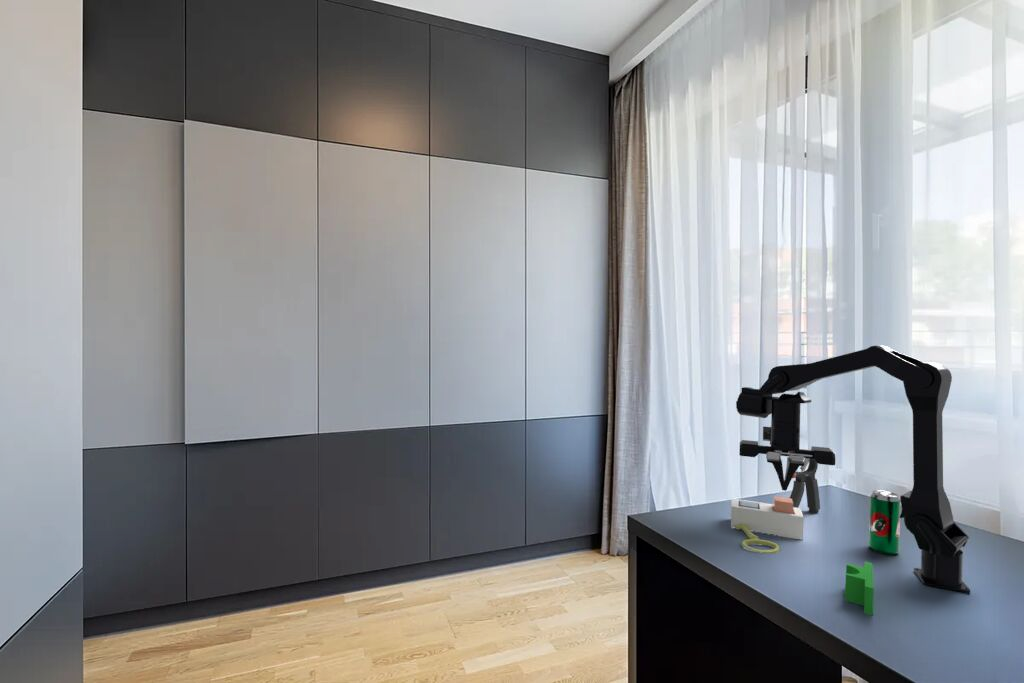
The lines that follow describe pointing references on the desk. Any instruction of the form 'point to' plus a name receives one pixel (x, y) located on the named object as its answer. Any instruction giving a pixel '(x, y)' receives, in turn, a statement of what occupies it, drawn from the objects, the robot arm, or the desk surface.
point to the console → (768, 519)
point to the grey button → (749, 504)
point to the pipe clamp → (860, 586)
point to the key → (756, 540)
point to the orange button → (783, 505)
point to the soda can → (884, 522)
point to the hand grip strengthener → (806, 481)
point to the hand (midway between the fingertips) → (784, 490)
